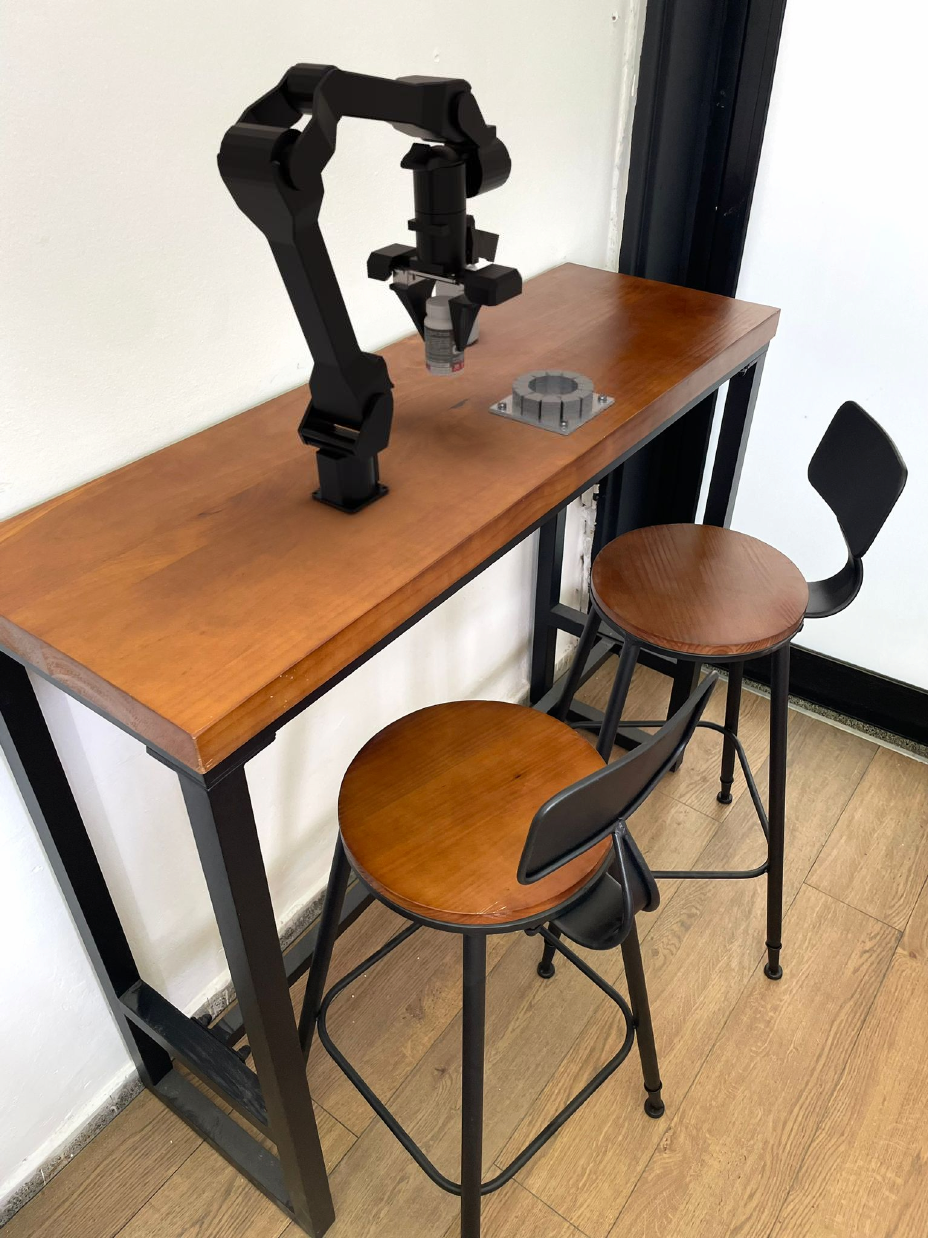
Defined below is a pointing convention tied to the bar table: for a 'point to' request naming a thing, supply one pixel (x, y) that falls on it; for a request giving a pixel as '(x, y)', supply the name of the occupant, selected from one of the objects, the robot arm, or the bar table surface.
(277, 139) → the robot arm
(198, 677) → the bar table surface
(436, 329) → the pill bottle
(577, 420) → the socket
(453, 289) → the beverage can
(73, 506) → the bar table surface
